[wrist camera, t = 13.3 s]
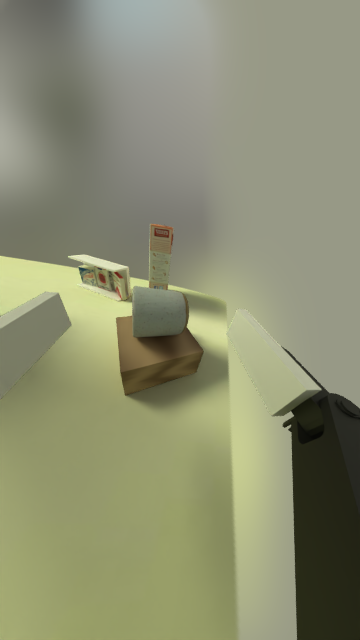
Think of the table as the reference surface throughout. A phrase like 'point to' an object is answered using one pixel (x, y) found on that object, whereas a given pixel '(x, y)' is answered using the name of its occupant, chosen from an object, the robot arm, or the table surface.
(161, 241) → the cracker box
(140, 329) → the ceramic mug
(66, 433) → the table surface
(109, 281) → the white packet holder
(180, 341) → the walnut block
